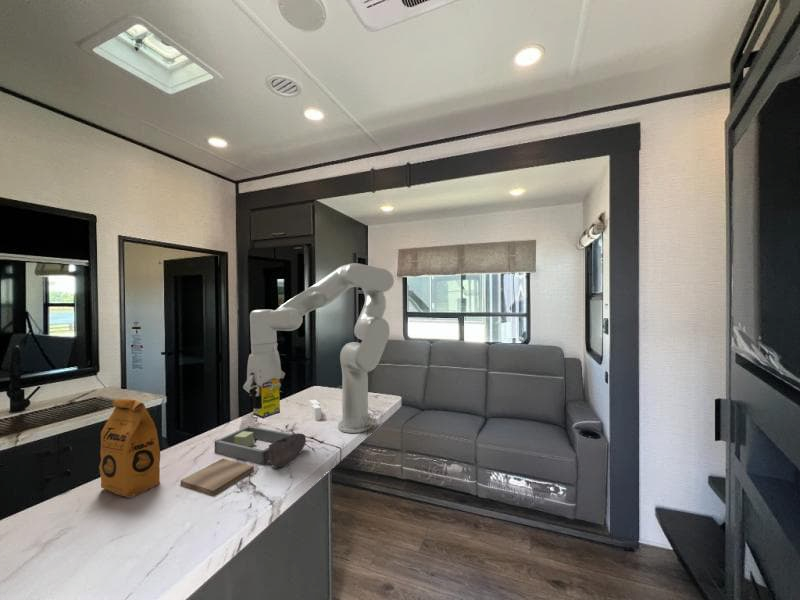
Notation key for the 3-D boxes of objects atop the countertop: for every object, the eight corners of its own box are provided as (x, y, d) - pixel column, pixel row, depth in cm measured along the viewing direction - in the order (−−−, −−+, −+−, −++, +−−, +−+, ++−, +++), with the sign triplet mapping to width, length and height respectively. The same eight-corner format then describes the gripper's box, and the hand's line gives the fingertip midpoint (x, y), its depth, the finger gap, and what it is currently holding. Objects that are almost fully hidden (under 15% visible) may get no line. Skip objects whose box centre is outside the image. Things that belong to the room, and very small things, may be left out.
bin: (294, 445, 101) (294, 434, 101) (263, 464, 89) (263, 452, 89) (248, 435, 109) (248, 425, 109) (214, 452, 97) (214, 441, 97)
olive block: (253, 444, 102) (253, 432, 102) (244, 449, 98) (244, 437, 98) (242, 443, 103) (242, 431, 103) (234, 448, 99) (234, 436, 99)
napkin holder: (307, 410, 135) (307, 397, 136) (333, 411, 134) (333, 398, 134) (292, 423, 121) (292, 409, 121) (321, 424, 119) (321, 409, 120)
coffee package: (119, 505, 71) (119, 409, 72) (94, 491, 77) (94, 402, 77) (167, 482, 80) (167, 397, 81) (141, 471, 86) (141, 392, 86)
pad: (253, 470, 86) (253, 466, 86) (213, 495, 75) (213, 490, 75) (222, 462, 90) (222, 458, 90) (180, 485, 79) (180, 480, 79)
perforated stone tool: (299, 447, 100) (299, 425, 100) (312, 450, 98) (312, 428, 98) (261, 470, 86) (261, 445, 86) (276, 474, 84) (276, 448, 84)
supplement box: (263, 419, 94) (261, 383, 94) (253, 415, 98) (251, 380, 98) (280, 412, 99) (279, 378, 99) (270, 409, 102) (269, 376, 102)
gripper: (275, 343, 107) (277, 394, 108) (231, 352, 91) (234, 412, 92) (292, 344, 105) (294, 396, 105) (250, 353, 89) (253, 415, 89)
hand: (266, 403), depth 98 cm, fingers closed on supplement box, 7 cm apart
